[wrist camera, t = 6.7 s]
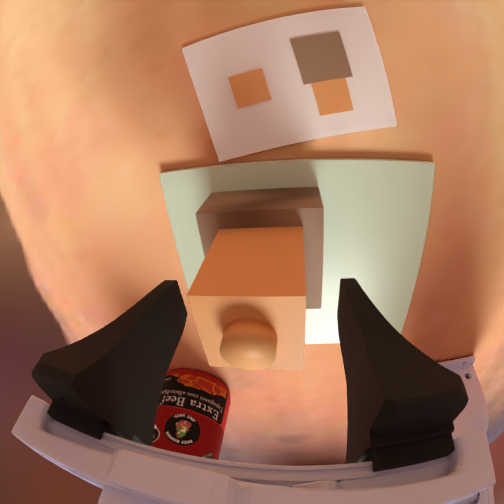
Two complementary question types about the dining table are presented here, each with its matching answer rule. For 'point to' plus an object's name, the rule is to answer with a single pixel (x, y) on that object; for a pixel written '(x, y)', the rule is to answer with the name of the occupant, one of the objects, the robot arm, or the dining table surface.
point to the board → (328, 224)
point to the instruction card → (291, 81)
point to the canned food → (191, 414)
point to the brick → (252, 299)
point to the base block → (271, 223)
